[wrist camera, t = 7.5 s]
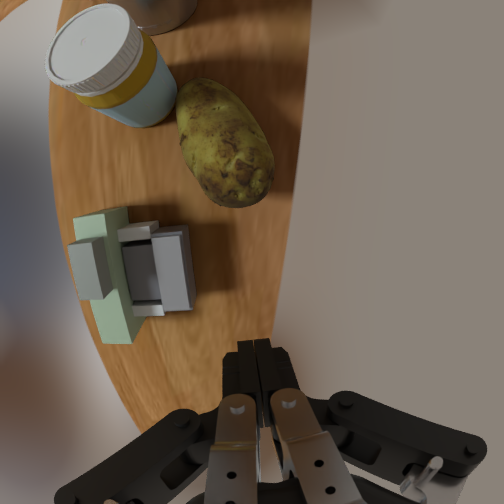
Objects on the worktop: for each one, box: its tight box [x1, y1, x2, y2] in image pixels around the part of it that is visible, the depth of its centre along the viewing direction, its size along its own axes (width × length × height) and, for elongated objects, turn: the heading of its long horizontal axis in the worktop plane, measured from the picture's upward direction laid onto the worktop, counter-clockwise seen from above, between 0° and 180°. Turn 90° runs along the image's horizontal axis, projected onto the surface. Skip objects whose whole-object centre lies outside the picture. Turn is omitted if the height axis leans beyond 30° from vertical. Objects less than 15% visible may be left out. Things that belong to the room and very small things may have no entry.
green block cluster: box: [67, 206, 166, 344], centre depth 25 cm, size 13×7×8 cm, turn 4°
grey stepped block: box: [122, 224, 197, 311], centre depth 27 cm, size 8×6×4 cm
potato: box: [175, 78, 275, 208], centre depth 23 cm, size 8×13×8 cm, turn 6°
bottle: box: [45, 4, 178, 128], centre depth 17 cm, size 7×7×15 cm
